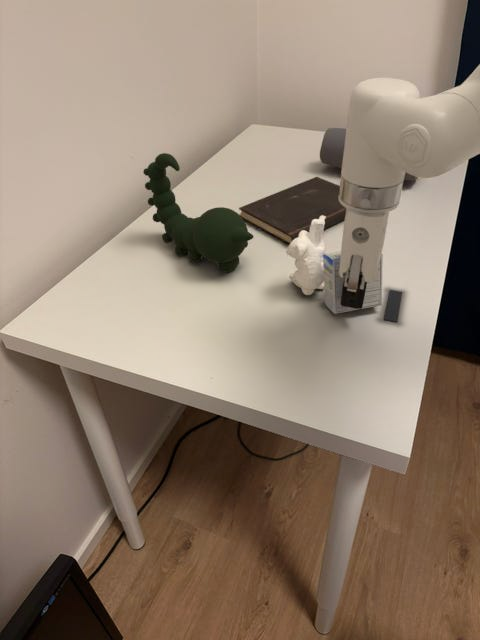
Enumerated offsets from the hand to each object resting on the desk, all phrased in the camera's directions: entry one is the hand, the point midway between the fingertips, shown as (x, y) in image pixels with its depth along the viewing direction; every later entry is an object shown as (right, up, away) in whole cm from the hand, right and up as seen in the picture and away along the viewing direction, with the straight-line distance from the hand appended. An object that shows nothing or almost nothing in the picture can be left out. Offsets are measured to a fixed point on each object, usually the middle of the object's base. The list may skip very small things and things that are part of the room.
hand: (351, 304), depth 72 cm
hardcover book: (-3, +20, +30) cm, 36 cm away
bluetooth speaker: (+14, +32, +44) cm, 56 cm away
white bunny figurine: (-5, +3, +10) cm, 11 cm away
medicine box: (+1, 0, +4) cm, 4 cm away
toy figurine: (-23, +9, +18) cm, 31 cm away
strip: (+8, 0, +5) cm, 9 cm away
